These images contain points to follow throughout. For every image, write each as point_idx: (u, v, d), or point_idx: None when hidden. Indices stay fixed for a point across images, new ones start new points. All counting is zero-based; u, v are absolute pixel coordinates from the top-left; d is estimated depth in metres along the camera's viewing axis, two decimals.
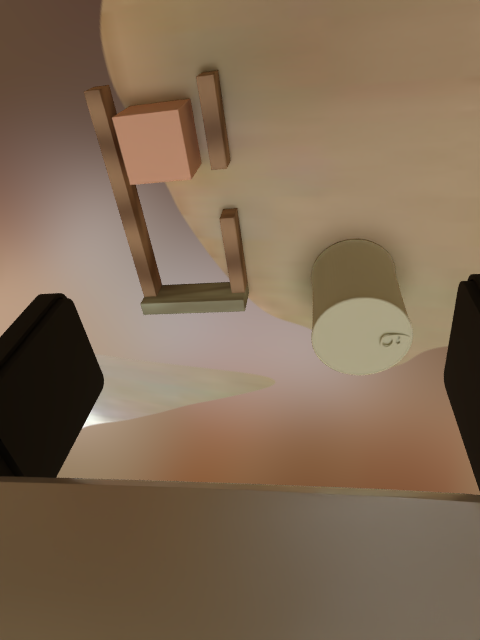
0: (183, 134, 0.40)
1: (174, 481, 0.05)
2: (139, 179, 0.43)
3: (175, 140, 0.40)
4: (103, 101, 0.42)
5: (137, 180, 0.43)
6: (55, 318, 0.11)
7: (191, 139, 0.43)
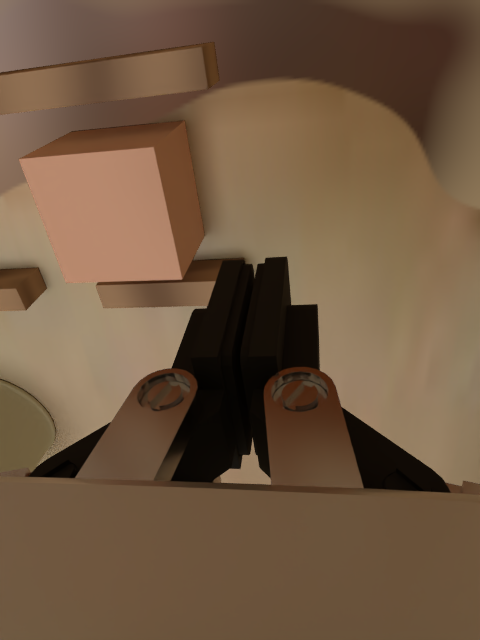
0: (141, 278, 0.22)
1: (174, 481, 0.05)
2: (36, 183, 0.20)
3: (130, 266, 0.21)
4: None
5: (34, 178, 0.20)
6: None
7: None
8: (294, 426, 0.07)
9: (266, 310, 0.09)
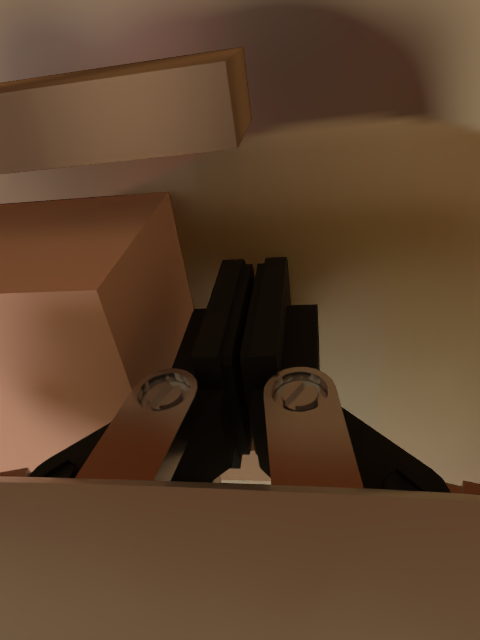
0: None
1: (174, 481, 0.05)
2: None
3: None
4: None
5: None
6: None
7: None
8: (294, 426, 0.07)
9: (266, 310, 0.09)
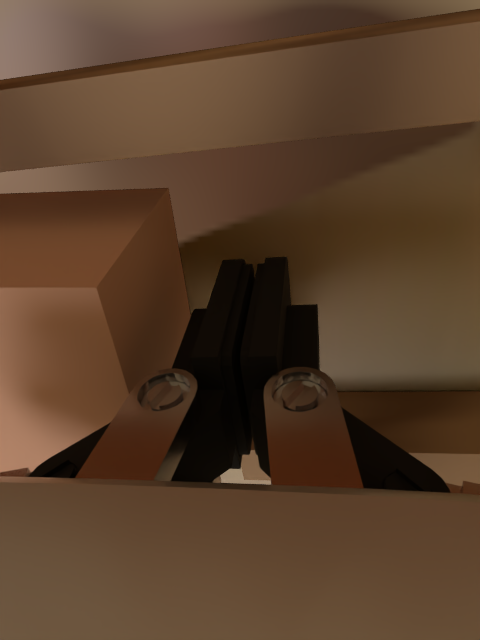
0: None
1: (174, 481, 0.05)
2: None
3: None
4: None
5: None
6: None
7: None
8: (294, 426, 0.07)
9: (266, 310, 0.09)
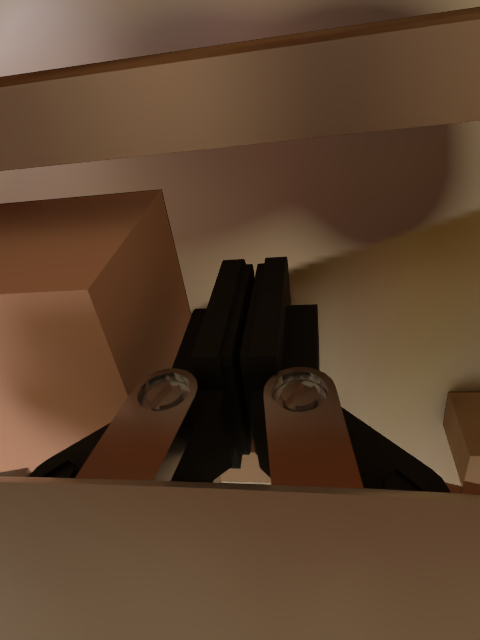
0: None
1: (174, 481, 0.05)
2: None
3: None
4: None
5: None
6: None
7: None
8: (294, 426, 0.07)
9: (266, 310, 0.09)
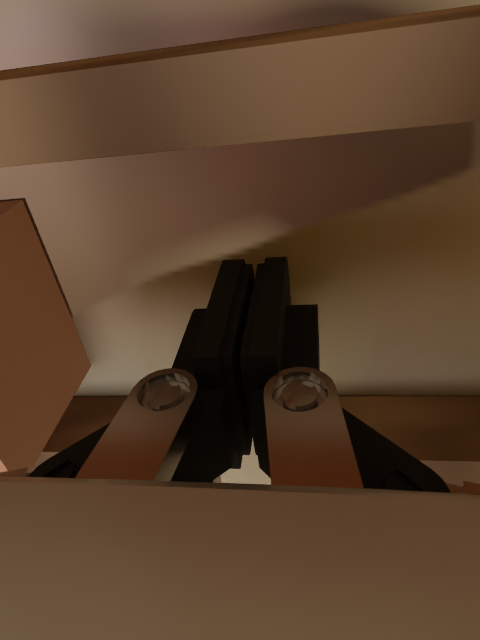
0: None
1: (174, 481, 0.05)
2: None
3: None
4: None
5: None
6: None
7: None
8: (294, 426, 0.07)
9: (266, 310, 0.09)
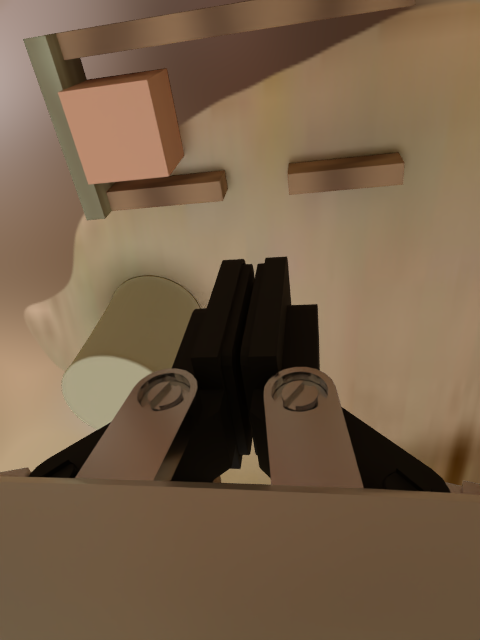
0: (141, 178, 0.32)
1: (174, 481, 0.05)
2: (69, 109, 0.30)
3: (132, 168, 0.31)
4: (395, 7, 0.27)
5: (67, 106, 0.29)
6: None
7: None
8: (294, 426, 0.07)
9: (266, 310, 0.09)
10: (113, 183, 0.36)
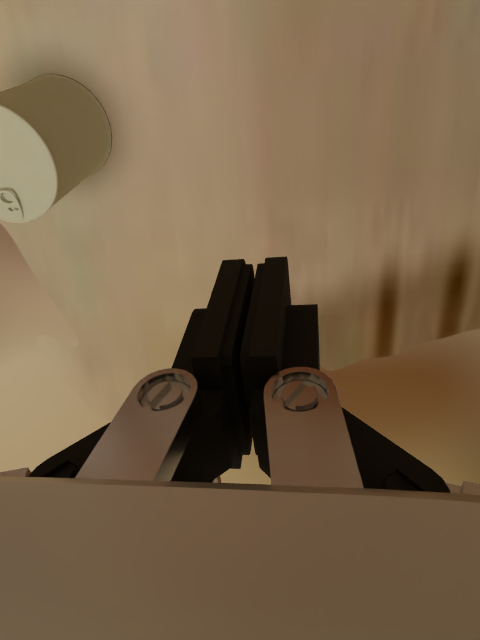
0: None
1: (174, 481, 0.05)
2: None
3: None
4: None
5: None
6: None
7: None
8: (294, 426, 0.07)
9: (266, 310, 0.09)
10: None
